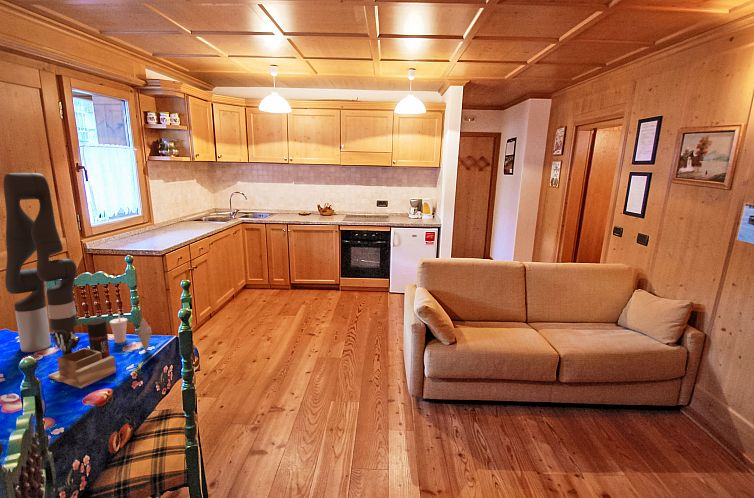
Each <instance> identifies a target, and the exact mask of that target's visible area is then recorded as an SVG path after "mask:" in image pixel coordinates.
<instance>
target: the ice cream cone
mask: <svg viewBox="0 0 754 498" xmlns="http://www.w3.org/2000/svg"><path fill="white" fill-rule="evenodd" d="M136 332H137V336H138V338H139V340H140V342H141V344H142V347H143V349H144V351H145V352H148V349H149V345H150V341H151V336H152V333H153V331H152V328H151V326H150V325H149V324H148V322H147V321H146V320H145V318H144V317H142V320H141V321H140V323H139V327H137V331H136Z"/></svg>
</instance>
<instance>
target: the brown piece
mask: <svg viewBox="0 0 754 498" xmlns="http://www.w3.org/2000/svg"><path fill="white" fill-rule="evenodd" d="M115 373H117V368H116V357H115V356H113V355H110V356H109V357H107V358H105V359H102V360H100V361H98V362H95V363H93V364H90V365H88V366H86V367H83V368H81V369H79V370H76V371H75V376H76V380H73V379H70V378H67V377H64V376H61V375H60V374H59V370H57V371H55V372H52V373H50V374H48V378H49V379H52V380H55V381H58V382H61V383H64V384H67V385H70V386H72V387H75V388H79V389H84V387H88V386H89V385H91V384H94V383H95V382H98V381H100V380H102V379H104V378H107V377H109V376H111V375H113V374H115Z"/></svg>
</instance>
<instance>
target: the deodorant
mask: <svg viewBox="0 0 754 498" xmlns="http://www.w3.org/2000/svg"><path fill="white" fill-rule="evenodd" d="M86 323H87V324H86V325H87V326H86V327H87V334H88V335H87V336H88V342H89V349H92V350H95V351H98V352H101V354H102V359H105V358H107V357H109V356H111V355H110V347H109V346H110V344H109V335H108V327H107V319H106V318H105V319H104V318H98V319H92V320H90V321H87V322H86Z"/></svg>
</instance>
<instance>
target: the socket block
mask: <svg viewBox="0 0 754 498" xmlns="http://www.w3.org/2000/svg"><path fill="white" fill-rule="evenodd" d="M100 360H102V354H101V352H98V351H95V350H92V349H90V348H88V347H83V348H80V349H78V350H75V351H72V353H69V354H67V355H64V356H63V355H61V356H60V357H59V356H58V357H57V367H58V371H59V374H60V375H61V376H64V377H67V378H70V379H73V380H76V376H75V371H76V370H79V369H81V368H83V367H86V366H88V365H90V364H93V363H95V362H98V361H100Z"/></svg>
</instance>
